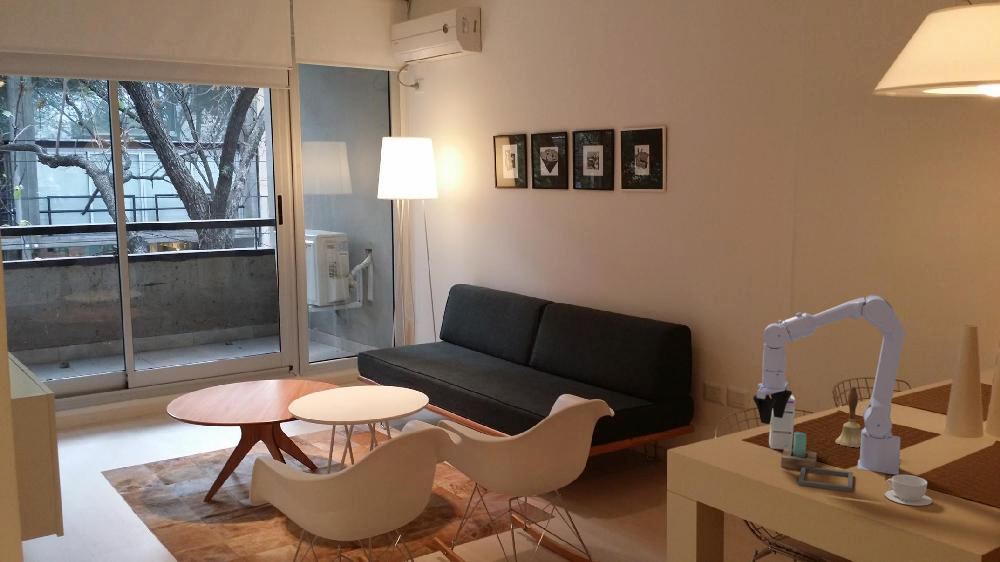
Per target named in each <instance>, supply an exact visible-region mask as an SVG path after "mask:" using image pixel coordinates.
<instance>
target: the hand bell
mask: <svg viewBox="0 0 1000 562" xmlns="http://www.w3.org/2000/svg"><path fill="white" fill-rule="evenodd" d="M858 402H859V394H858V392H857V387H855V386H851V387H850V389H849V392H848V395H847V404H848V409H849V413H848V421H847V422H845V423H843V425H842V431H841V434H840V435H839V437H837V438H836V439H835V441H834V443H835V444H836V445H838V444H840V445H839V446H841V445H842V446H841V447H844V446H847V447H846V448H851V447H855V448H856V449H860V448H859V447H861V430H862V429H861V428H862V427H861V425H860V424H859V423H857V422H856V409H857V406H858ZM855 448H854V449H855Z"/></svg>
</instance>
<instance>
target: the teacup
mask: <svg viewBox="0 0 1000 562" xmlns="http://www.w3.org/2000/svg"><path fill="white" fill-rule="evenodd" d="M885 483H886V487H887V488H888V489H890V490H888V491H886V492H884V496H885V497H886V498H887V499H889V500H890V501H893V502H895V503H898V504H902V505H908V506H916V507H917V506H927V505H931V504H932V503H933V499H932V498H931V497H930V496H928V495H926V492H927V487H928V481H927V480H926V479H924V478H922V477H920V476H915V475H909V474H898V475H893V476H892V478H888V479H887V480H886V482H885ZM890 483H891V484H892V485H890ZM900 499H902V500H900ZM903 500H905V501H903Z"/></svg>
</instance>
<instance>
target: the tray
mask: <svg viewBox="0 0 1000 562" xmlns="http://www.w3.org/2000/svg"><path fill="white" fill-rule="evenodd" d="M806 472H807V473H808V472H809V473H815V474H816V473H817V474H823V475H824V474H825V475H830V476H831V475H832V476H840V477H848V478H847V485H841V484H835V483H827V482H820V481H819V482H818V481H812V480H805V476H806ZM853 479H854V472H853V471H846V470H845V471H844V470H838V469H829V468H824V467H823V468H821V467H816V466H815V467H807V466H802V468H801V469H800V473H799V476H798V482H797V483H798V484H797V485H798V486H805V487H812V488H818V489H825V490H826V489H827V490H832V491H833V490H835V491H842V492H849V493H852V492H853Z"/></svg>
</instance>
